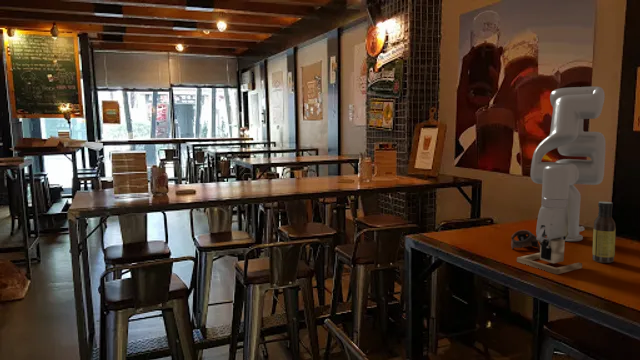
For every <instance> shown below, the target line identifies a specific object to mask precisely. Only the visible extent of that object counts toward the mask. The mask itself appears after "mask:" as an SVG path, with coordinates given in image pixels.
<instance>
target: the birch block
mask: <svg viewBox="0 0 640 360" xmlns="http://www.w3.org/2000/svg"><path fill="white" fill-rule="evenodd" d="M545 241H546V242H548V240H546V239H545ZM565 242H566V241H565V240H562V239H558V238H556V239H552V241H551V246H550V248H551V260H546V259H542V258H541V246H540V251H539V253H540V258H539V260H541V261H543V262H547V263H551V264H558V263H561V262H564V259H565V258H564V257H565Z"/></svg>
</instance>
